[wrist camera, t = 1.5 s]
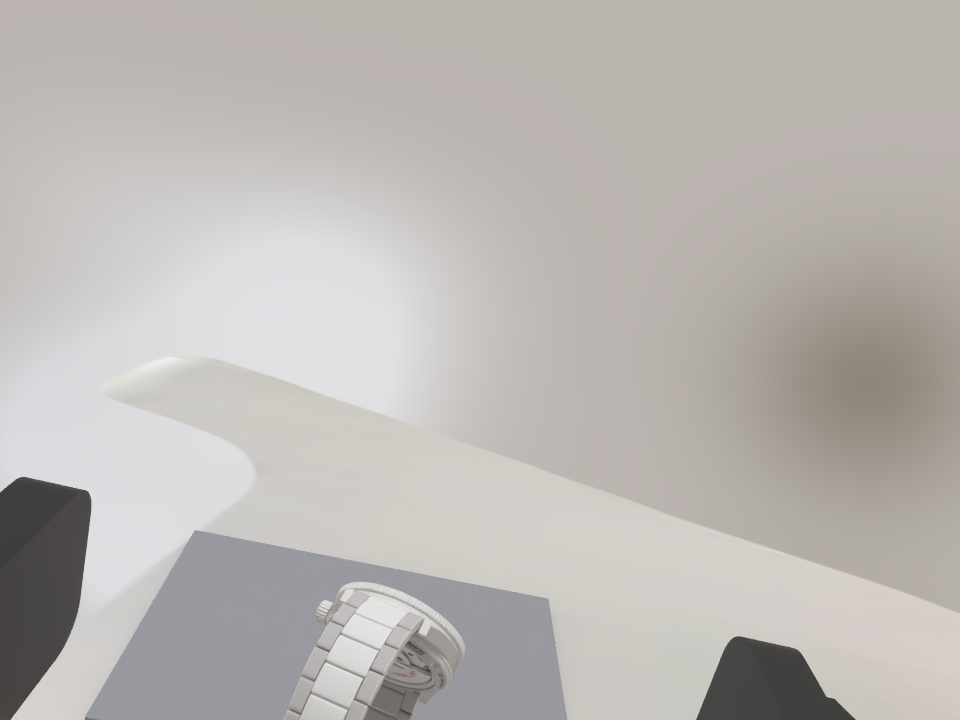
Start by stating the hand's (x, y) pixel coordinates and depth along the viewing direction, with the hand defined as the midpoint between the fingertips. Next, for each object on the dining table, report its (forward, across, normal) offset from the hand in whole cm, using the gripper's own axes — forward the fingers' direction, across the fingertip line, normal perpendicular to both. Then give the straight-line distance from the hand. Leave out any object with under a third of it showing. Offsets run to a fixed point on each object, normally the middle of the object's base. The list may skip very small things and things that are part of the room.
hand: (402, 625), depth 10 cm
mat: (+25, 0, +20) cm, 32 cm away
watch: (+14, 0, +20) cm, 25 cm away
